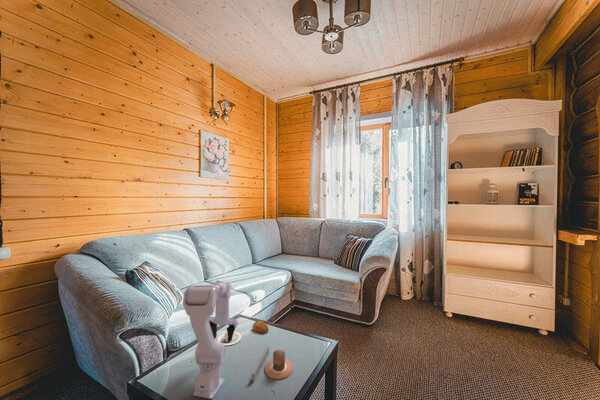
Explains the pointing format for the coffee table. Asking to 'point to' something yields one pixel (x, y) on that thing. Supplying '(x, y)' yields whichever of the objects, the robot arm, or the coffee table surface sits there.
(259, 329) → the pastry
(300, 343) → the coffee table surface
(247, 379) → the coffee table surface
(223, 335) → the candle holder
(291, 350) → the coffee table surface
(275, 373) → the resting plate
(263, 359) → the acrylic wall
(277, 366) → the walnut cylinder
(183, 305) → the robot arm
